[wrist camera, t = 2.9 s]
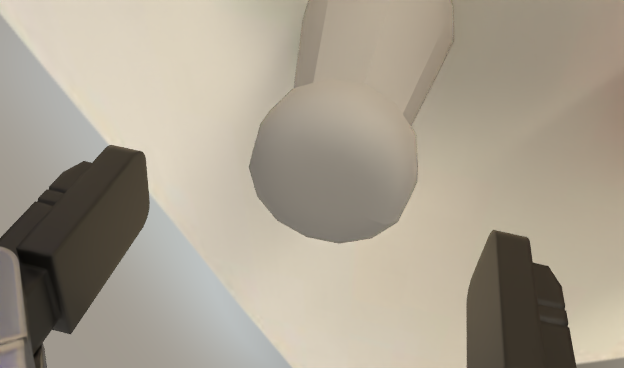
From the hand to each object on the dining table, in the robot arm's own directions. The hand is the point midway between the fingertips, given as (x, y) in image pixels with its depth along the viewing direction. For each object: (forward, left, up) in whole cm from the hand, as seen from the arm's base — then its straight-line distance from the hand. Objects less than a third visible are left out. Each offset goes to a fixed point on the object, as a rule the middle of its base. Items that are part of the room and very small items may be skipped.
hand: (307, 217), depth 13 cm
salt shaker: (0, 0, -14) cm, 14 cm away
